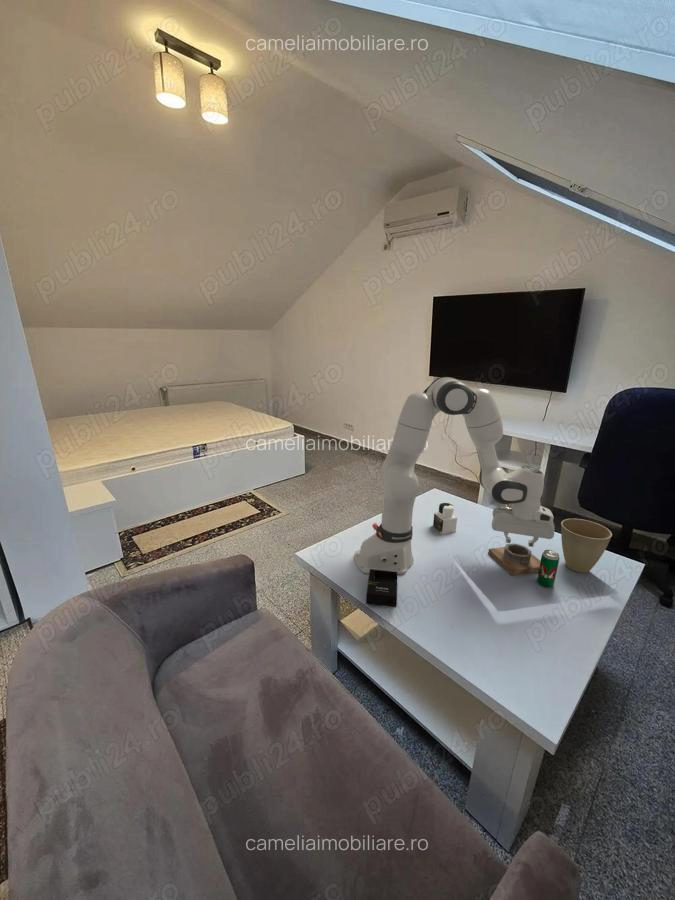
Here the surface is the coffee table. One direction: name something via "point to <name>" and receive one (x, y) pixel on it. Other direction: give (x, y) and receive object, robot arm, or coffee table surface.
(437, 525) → the white boxy device
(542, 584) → the soda can
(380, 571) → the battery charger
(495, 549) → the socket block
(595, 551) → the plant pot
